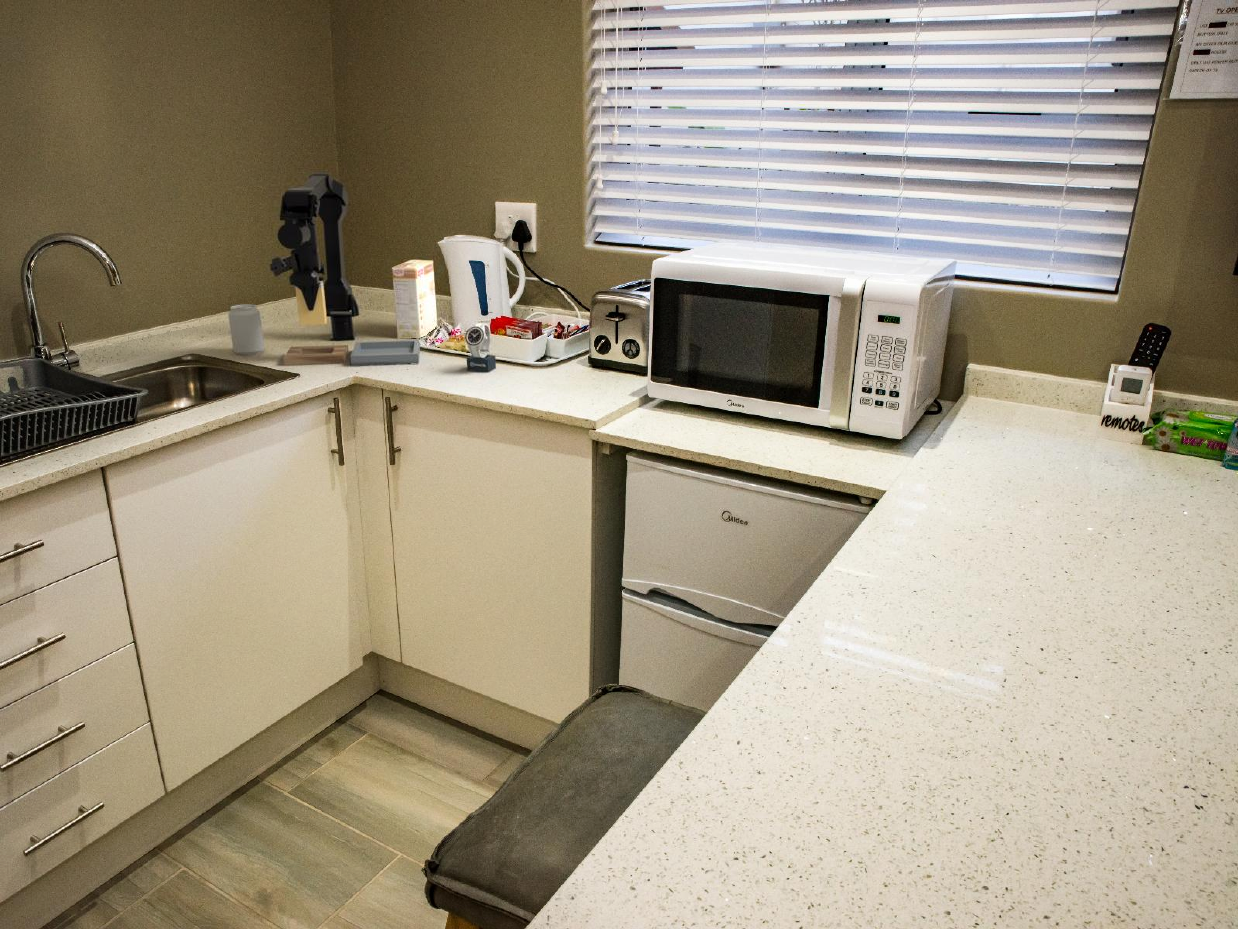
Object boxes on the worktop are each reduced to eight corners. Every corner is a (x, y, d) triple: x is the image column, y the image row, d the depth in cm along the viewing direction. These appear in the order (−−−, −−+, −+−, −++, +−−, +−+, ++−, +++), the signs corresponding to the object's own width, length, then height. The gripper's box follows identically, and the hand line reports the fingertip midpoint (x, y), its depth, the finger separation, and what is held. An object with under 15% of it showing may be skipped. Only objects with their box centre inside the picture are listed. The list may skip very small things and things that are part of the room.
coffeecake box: (414, 327, 268) (410, 259, 262) (438, 328, 267) (434, 259, 261) (396, 338, 254) (390, 266, 248) (421, 339, 253) (416, 267, 247)
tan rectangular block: (301, 322, 230) (297, 281, 227) (327, 321, 231) (322, 280, 228) (299, 325, 226) (295, 284, 223) (325, 324, 227) (320, 283, 224)
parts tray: (356, 351, 240) (356, 341, 239) (420, 349, 242) (419, 339, 242) (351, 366, 225) (350, 356, 224) (418, 363, 228) (417, 353, 227)
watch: (463, 372, 220) (461, 326, 216) (478, 364, 227) (476, 320, 223) (485, 374, 218) (483, 328, 215) (499, 366, 226) (497, 321, 222)
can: (232, 350, 240) (226, 304, 236) (263, 348, 243) (257, 302, 239) (234, 356, 233) (228, 309, 229) (266, 354, 236) (260, 307, 232)
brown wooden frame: (291, 354, 236) (290, 346, 235) (348, 352, 238) (347, 344, 238) (284, 365, 225) (283, 357, 224) (344, 363, 227) (343, 355, 227)
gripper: (276, 240, 229) (283, 303, 235) (262, 249, 212) (271, 317, 217) (322, 239, 231) (329, 301, 237) (313, 248, 214) (320, 315, 219)
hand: (312, 308), depth 227 cm, fingers closed on tan rectangular block, 4 cm apart
